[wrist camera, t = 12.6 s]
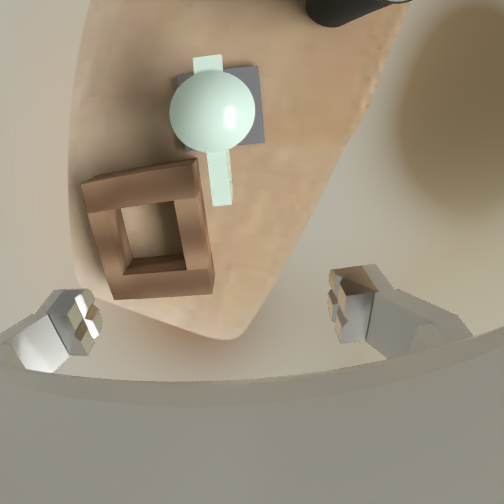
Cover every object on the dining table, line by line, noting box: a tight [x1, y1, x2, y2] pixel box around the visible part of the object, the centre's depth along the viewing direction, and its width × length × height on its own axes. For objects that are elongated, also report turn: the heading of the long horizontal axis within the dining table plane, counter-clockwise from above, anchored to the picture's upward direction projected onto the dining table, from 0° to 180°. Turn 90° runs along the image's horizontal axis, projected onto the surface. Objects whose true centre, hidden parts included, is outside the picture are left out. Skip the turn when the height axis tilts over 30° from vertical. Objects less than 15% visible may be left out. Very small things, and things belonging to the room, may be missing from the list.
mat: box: [177, 66, 265, 152], centre depth 28 cm, size 8×8×1 cm
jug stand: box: [81, 158, 215, 300], centre depth 32 cm, size 14×12×4 cm
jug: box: [169, 54, 255, 206], centre depth 24 cm, size 11×6×9 cm, turn 4°
